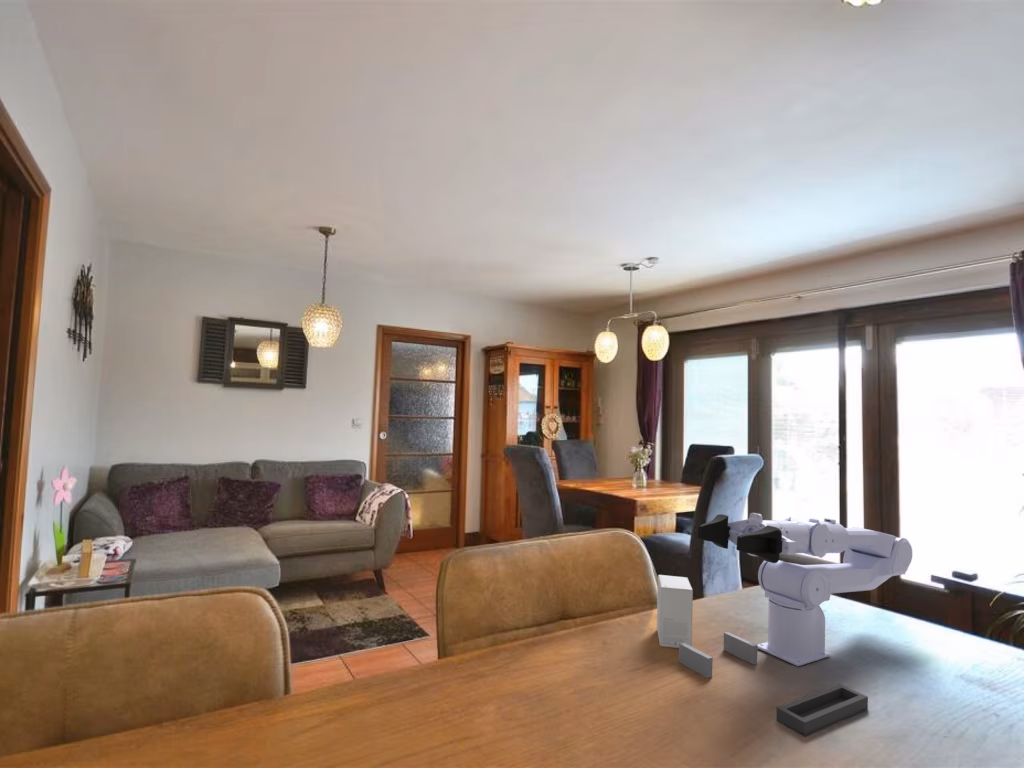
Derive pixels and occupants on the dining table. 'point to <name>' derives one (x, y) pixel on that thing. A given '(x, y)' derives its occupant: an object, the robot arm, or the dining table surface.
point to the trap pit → (821, 709)
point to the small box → (674, 611)
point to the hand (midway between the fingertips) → (718, 537)
